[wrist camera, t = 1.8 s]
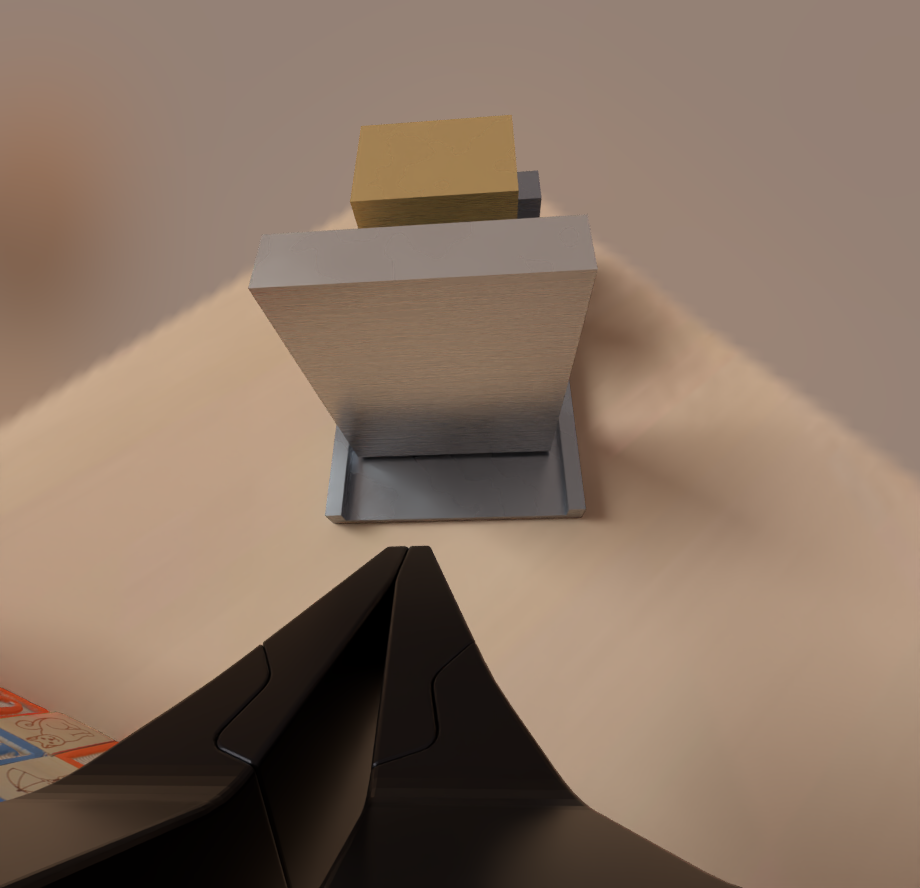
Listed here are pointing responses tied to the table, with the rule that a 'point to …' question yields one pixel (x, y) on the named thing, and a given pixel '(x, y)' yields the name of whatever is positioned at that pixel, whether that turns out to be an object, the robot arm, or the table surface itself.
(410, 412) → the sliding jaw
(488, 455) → the vise
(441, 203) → the brass block
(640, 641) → the table surface
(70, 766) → the stack of blocks
